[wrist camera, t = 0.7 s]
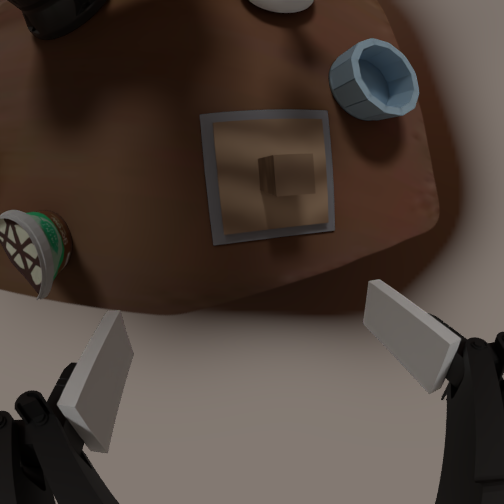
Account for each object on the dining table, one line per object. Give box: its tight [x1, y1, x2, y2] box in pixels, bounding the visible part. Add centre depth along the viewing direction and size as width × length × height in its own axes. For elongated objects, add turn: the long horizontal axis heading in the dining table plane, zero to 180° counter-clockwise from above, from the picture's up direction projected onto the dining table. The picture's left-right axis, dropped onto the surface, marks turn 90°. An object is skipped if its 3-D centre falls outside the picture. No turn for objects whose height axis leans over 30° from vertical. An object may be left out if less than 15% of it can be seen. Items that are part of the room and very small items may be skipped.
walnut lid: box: [213, 119, 329, 235], centre depth 30 cm, size 14×14×9 cm
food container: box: [0, 210, 72, 300], centre depth 27 cm, size 12×6×10 cm, turn 38°
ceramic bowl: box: [329, 38, 419, 121], centre depth 29 cm, size 11×11×7 cm
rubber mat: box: [200, 109, 335, 246], centre depth 34 cm, size 17×17×1 cm
